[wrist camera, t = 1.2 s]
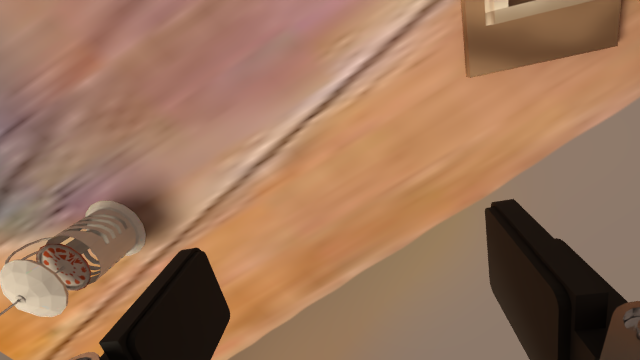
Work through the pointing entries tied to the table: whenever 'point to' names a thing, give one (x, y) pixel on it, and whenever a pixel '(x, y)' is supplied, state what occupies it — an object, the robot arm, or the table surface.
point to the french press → (71, 259)
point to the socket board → (534, 31)
